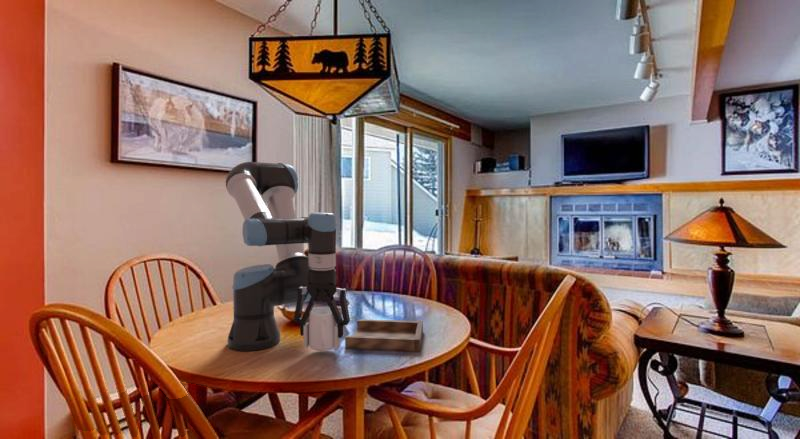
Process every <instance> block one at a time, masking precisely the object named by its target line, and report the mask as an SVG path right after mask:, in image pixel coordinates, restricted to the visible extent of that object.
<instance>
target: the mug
mask: <svg viewBox="0 0 800 439" xmlns="http://www.w3.org/2000/svg"><path fill="white" fill-rule="evenodd" d="M308 323H309V346H308V347H309V348H310V349H312V350H313V351H319V352H325V351H326V352H327V351H331V350H333V349H335V326H336V325H337V323H336V321H335V319H334V316H333V314H332V312H331V309H330V307H329V306H317V307H313V308H312V311H311V313H309V317H308Z"/></svg>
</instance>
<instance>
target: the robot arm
mask: <svg viewBox="0 0 800 439" xmlns="http://www.w3.org/2000/svg"><path fill="white" fill-rule="evenodd" d="M225 188H226V190H227V192H228V194H229V195H230V196H231V197H232V198H234V201H235V202H236V204H237V206H238V208H239V211H240V213H241V215H242V216H243V219H244V220H243V223H242V237H243V242H244V244H245V245H246V246H249V247H251V246H252V247H254V246H255V247H264V246H265V247H266V246H275V248H276V252H277V258H278V261H277V262H276V264H275V267H274V265H273V264H269V263H268V264H256V265H251V266H246V267H243V268H241V269H239V270H238V269H237V271H235V273H234V274H233V278H232V279H233V280H232V292H233V293H232V295H233V298H232V299H233V301H232V302H233V319H232V320H233V321H232V324H231V327H230V330H229V334H228V336H227V347H228V348H229V349H230V350H234V351H239V352H253V351H259V350H265V349H269V348H271V347H274V346H276V345H277V344H278V343H280V341H281V332H280V329H279V325H278V324H277V321H276V318H275V307H277V306H285V305H293V304H295V310H294V314H293V315H294V316H293V322H294V323H298V324H299V326H300V327H299V328H300V331H299V335H300V336H303V341H302V342H303V345H302V348H303V349H307V348H308V347H310V346H309V322H308V320H309V313H311V311H312V309H313V308H314V306H315V304H316V303H317V302H323V303H326V304H327V305H328V307H330V309H331V312H332V314H333V316H334V319H335V321H336V323H337V325H336V326H335V348H334V351H338V350H339V348H340V347H341V342H340V341H341V339H342V337H344V326H347V325H349V323H350V322H351V320H350V319H351V318H350V313H349V312H350V311H349V308H348V302H347V301H348V300H347V291H348V290H347V288H345V287H344V288H341V287H340V288H339V287H338V286H337V285H336V284H337V282H336V281H337V280H336V279H337V277H336V275H337V274H336V272H337V270H336V268H335V267H336V266H337V256H336V254H337V253H336V251H337V250H336V248H337V247H336V246H337V219H336V215H335V213H332V212H311V213H310V214H309V215H308V216H302V217H301V216H300V217H297V216H296V210H295V207H294V203H293V199H294V197H295V196H296V194H297V192H298V189H299V179H298V174H297V172H296V169H295V168H294V167H293V166H292V165H290V164H288V163H282V162H277V163H272V162H259V161H258V162H257V161H256V162H255V161H246V162H241V163H240V164H237V165H235V166H234V167H233V168H231V169H230V171H229V172H228V173H227V176H226V179H225ZM303 244H308V252H307V254H308V255H306V254H305V250H304V245H303ZM336 293H337V296H338V297H339V305H340V308H341V312H340V310H339V308H338V306H337V302H336V300H335V297H334V296H335V294H336ZM306 302H308V303H307V306H306V308H305V310H304V312H303V307H304V303H306ZM302 313H303V315H302Z"/></svg>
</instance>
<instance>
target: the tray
mask: <svg viewBox="0 0 800 439" xmlns="http://www.w3.org/2000/svg"><path fill="white" fill-rule="evenodd" d="M423 333H424V321H421V320H394V319H392V320H390V319H389V320H386V319H364V318H363V319H362V318H359V319H357V320H356V330H355V331H354V333H353V335H349V334H348V335H345V337H344V346H345V348H344V349H345V350H361V351H363V350H365V351H384V352H385V351H391V352H409V353H411V352H414V353H420V352H421V347H422V340H423Z"/></svg>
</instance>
